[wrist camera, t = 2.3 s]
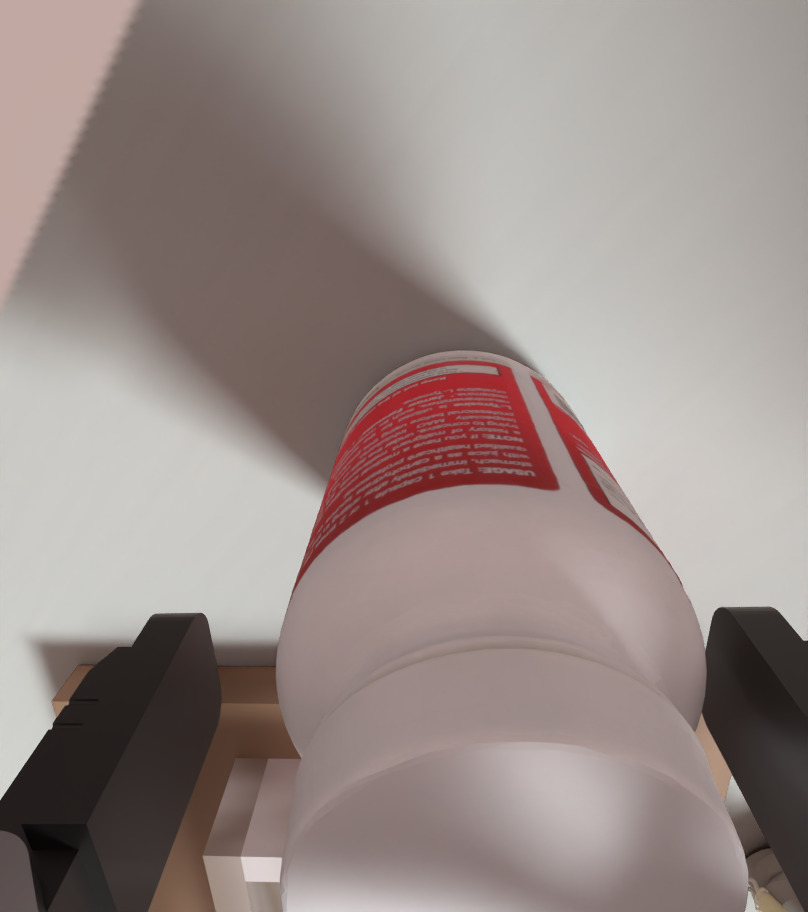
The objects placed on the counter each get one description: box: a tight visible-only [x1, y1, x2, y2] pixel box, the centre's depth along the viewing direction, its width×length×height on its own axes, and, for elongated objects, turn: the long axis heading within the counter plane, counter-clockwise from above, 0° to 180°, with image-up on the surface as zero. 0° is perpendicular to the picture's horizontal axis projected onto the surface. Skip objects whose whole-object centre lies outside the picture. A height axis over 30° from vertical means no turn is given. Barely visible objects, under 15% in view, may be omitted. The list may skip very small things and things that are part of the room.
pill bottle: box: [276, 350, 748, 912], centre depth 11 cm, size 6×6×11 cm
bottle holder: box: [52, 665, 732, 912], centre depth 20 cm, size 20×14×4 cm
